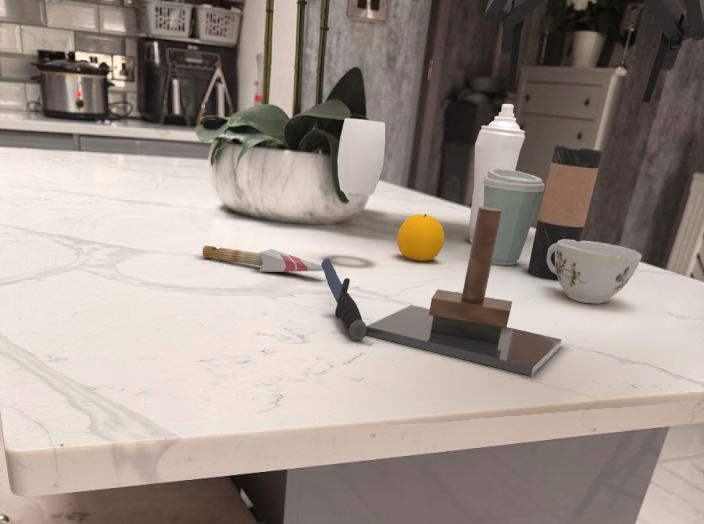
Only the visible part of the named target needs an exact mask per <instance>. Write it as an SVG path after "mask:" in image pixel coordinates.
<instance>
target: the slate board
mask: <svg viewBox="0 0 704 524" xmlns="http://www.w3.org/2000/svg"><path fill="white" fill-rule="evenodd" d="M429 311H430V308H426V307H422V306H417V305H412V304H411V305H408V306H407V307H404V308H402V309H400V310H397V311H395V312H393V313H392V314H389V315H387V316H385V317H383V318H381V319H379V320H377V321H374V322H372V323H370V324H367V325H366V333H365V336H368V337H373V338H377V339H380V340H384V341H388V342H393V343H395V344H396V343H397V344H400V345H404V346H409V347H411V348H417V349H421V350H425V351H429V352H432V353H436V354H439V355H445V356H448V357H453V358H457V359H461V360H465V361H469V362H472V363H476V364H480V365H484V366H489V367H493V368H496V369H501V370H505V371H509V372H512V373H516V374H520V375H524V376H529V377H532V376H533V375H534V374H535V373H536V372H537V371H538V370H539V369H540V368H541V367H542V366H543V365H544V364H545V363H546V362H547V361H548V360H549V359H550V358H551V357H552V356H553V355H554V354H555V353H557V351H558V350H559V349H560V348H561V345H562V341H563V339H561V338H557V337H552V336H548V335H544V334H540V333H535V332H531V331H527V330H523V329H518V328H513V327H509V326H507V328H502V331H501V335H500V339H499V343H493V342H488V341H482V340H476V339H470V338H465V337H459V336H453V335H447V334H442V333H436V332H431V327H432V321H433V316H431V315H429Z"/></svg>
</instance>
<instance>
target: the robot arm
mask: <svg viewBox="0 0 704 524" xmlns="http://www.w3.org/2000/svg"><path fill="white" fill-rule="evenodd" d="M545 1H546V0H488V3H487V5H486V9H485V12H484V16H483V17H484V19H485V21H486V22H488V23H493V22H495V21H496V22H497V23H500V24H501V27H502V34H501V44H500V45H501V46H500V50H501V53H502V55H510V61H509V62H510V64H509V71H508V82H507V88H513V89H515V88H516V86H517V84H518V83H517V82H518V79H519V75H520V72H521V69H522V61H523V52H524V45H525V44H524V43H525V34H526V28H527V27H526V26H527V17H528V16H529V15H530V14H531V13H533V11H534V10H536V9H537V8H538V7H539V6H540V5H542V4H543V3H544V2H545ZM642 1H643V2H644V5H645V6H646V8H647V9H648V11H649V12H650V14H651V16H652V17H653V19H654V20H655V22H656V23H657V25H658V27H659V28H660V30H661V33H660V37H659V40H658V43H657V46H656V49H655V53H654V55H653V56H654V57H653V60H652V63H651V66H650V69H649V73H648V76H647V80H646V82H645V83H646V84H645V87H644V91H643V95H642V100H641V102H642V103H647V104H650V103H651V100H652V97H653V93H654V91H655V87H656V85H657V81H658V78H659V75H660V72H661V70H662V71H671V70H672V69H673V68H674V67H675V64H676V61H677V58H678V55H679V51H680V50H681V48H682V46H683V43H684V42H685V41H687V40H690V39H692V40H693V41H696V42H699V41H702V40H704V0H682V1H683V6H684V8H683V7H682V5H681V4H680V1H679V0H642ZM684 9H685V10H684Z"/></svg>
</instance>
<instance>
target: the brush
mask: <svg viewBox="0 0 704 524" xmlns="http://www.w3.org/2000/svg"><path fill="white" fill-rule="evenodd" d="M501 215H502V210H501V209H497V208H491V207H479V209H478V214H477V220H476V225H475V230H474V235H473V241H472V243H471V245H470V252H469V257H468V262H467V267H466V273H465V277H464V284H463V288H462V292H457V291H451V290H444V289H439V288H438V289H437V290H436V291H435V292H434V294H433V295H432V297H431V300H430V305H429V309H430V311H429V315H431V316H433V321H432V327H431V332H436V333H442V334H447V335H453V336H459V337H465V338H470V339H476V340H482V341H488V342H493V343H499V339H500V335H501V331H502V328H507V327H508V324H509V323H508V322H509V319H510V315H511V310H512V305H513V301H512V300H507V299H500V298H494V297H489V296H488V297H487V296H486V293H487V288H488V283H489V277H490V273H491V269H492V259H493V254H494V249H495V244H496V240H497V235H498V230H499V225H500V220H501Z"/></svg>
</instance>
